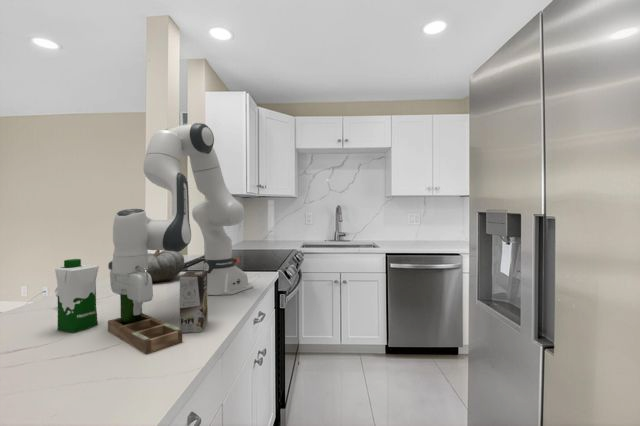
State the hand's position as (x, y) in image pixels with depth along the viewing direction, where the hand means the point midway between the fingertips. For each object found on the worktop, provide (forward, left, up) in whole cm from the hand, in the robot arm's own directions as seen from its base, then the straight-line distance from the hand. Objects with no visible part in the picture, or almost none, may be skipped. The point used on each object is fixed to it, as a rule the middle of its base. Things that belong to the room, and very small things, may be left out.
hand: (131, 312), depth 95 cm
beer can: (0, 0, -5) cm, 5 cm away
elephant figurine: (+3, -41, -5) cm, 41 cm away
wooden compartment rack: (0, +8, -5) cm, 9 cm away
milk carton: (+9, -15, -5) cm, 18 cm away
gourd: (-36, -62, -5) cm, 72 cm away
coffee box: (-13, +12, -5) cm, 18 cm away
